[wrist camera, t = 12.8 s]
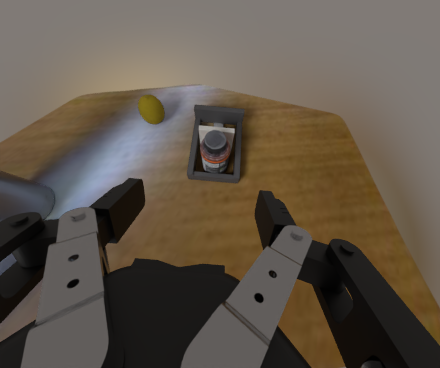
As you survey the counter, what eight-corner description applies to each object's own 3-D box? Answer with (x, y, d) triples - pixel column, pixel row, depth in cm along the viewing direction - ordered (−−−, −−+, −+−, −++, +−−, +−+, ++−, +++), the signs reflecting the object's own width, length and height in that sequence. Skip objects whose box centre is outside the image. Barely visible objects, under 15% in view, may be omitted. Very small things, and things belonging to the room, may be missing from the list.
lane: (188, 179, 40) (184, 168, 34) (197, 122, 45) (194, 104, 39) (237, 183, 40) (241, 173, 34) (240, 125, 45) (244, 109, 39)
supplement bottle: (210, 150, 42) (209, 119, 32) (231, 160, 42) (238, 133, 31) (198, 169, 40) (192, 144, 30) (220, 181, 40) (222, 159, 29)
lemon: (141, 123, 44) (126, 98, 36) (156, 109, 46) (144, 83, 38) (158, 134, 43) (146, 111, 36) (172, 119, 45) (164, 95, 37)
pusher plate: (201, 152, 42) (198, 129, 33) (206, 115, 45) (204, 86, 37) (230, 155, 42) (234, 132, 33) (232, 118, 45) (237, 89, 37)
